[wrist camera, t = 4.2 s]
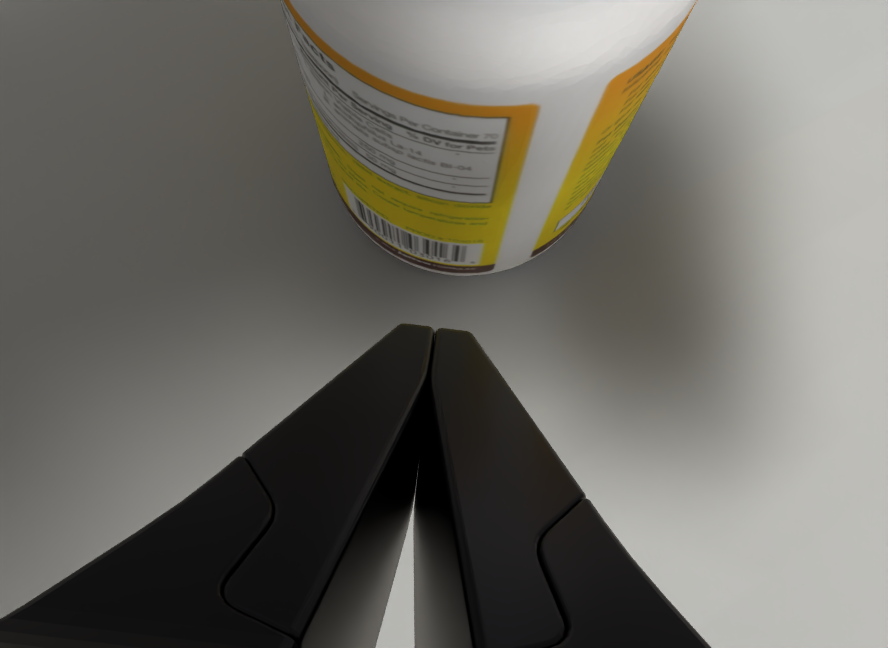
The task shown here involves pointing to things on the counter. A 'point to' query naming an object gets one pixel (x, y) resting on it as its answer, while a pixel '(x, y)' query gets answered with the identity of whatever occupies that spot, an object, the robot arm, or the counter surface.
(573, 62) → the supplement bottle
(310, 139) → the counter surface
